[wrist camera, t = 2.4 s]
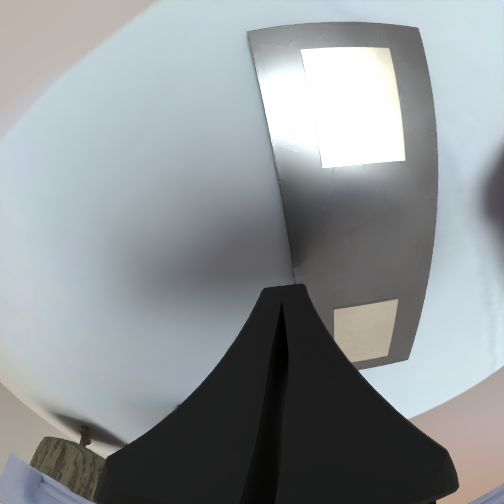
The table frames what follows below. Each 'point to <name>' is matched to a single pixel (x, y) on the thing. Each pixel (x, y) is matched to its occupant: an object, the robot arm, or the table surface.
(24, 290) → the table surface
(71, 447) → the tabletop clock
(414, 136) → the label panel
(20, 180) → the table surface
